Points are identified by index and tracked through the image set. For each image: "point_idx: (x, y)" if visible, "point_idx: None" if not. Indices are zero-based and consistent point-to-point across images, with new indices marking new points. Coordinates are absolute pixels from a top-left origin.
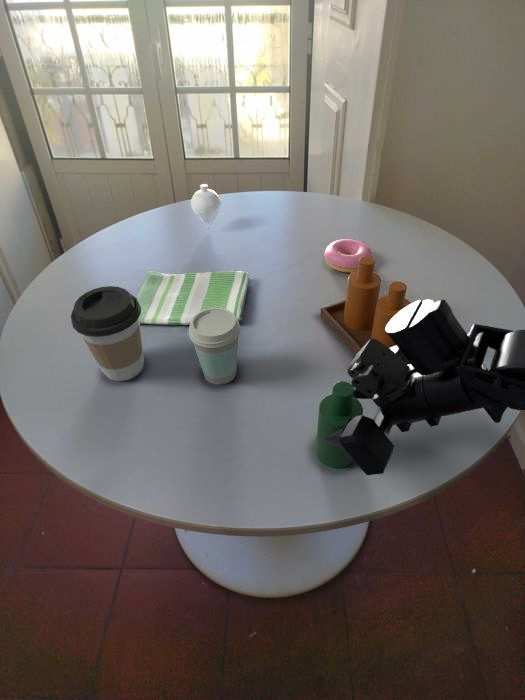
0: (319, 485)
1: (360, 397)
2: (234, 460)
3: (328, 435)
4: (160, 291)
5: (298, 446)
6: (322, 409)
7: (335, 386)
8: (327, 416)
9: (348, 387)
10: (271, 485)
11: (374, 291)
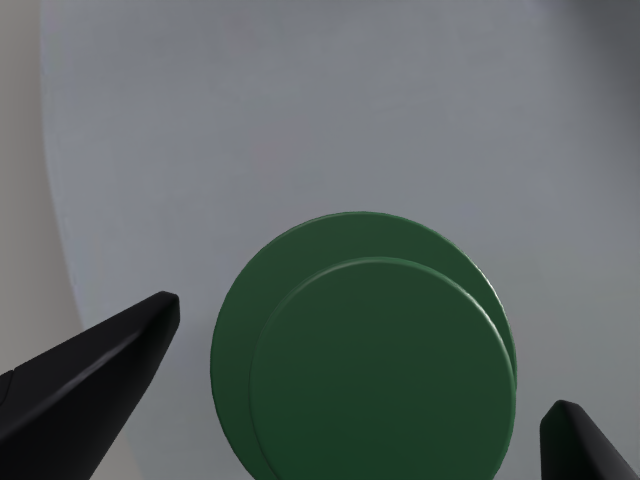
0: (203, 309)
1: (546, 469)
2: (238, 40)
3: (146, 311)
4: None
5: (338, 211)
6: (319, 236)
7: (390, 284)
8: (268, 279)
9: (419, 453)
10: (175, 164)
11: None
